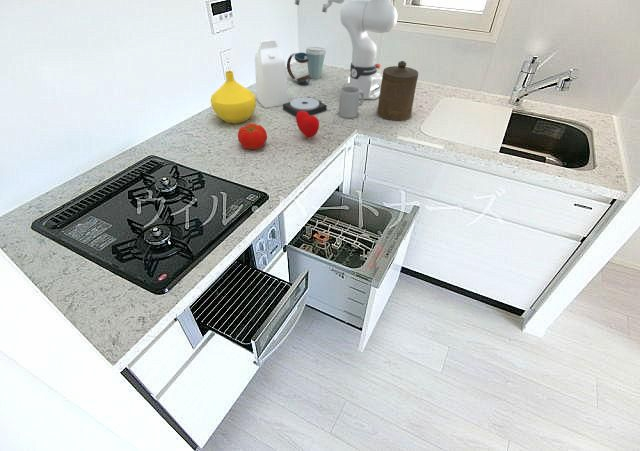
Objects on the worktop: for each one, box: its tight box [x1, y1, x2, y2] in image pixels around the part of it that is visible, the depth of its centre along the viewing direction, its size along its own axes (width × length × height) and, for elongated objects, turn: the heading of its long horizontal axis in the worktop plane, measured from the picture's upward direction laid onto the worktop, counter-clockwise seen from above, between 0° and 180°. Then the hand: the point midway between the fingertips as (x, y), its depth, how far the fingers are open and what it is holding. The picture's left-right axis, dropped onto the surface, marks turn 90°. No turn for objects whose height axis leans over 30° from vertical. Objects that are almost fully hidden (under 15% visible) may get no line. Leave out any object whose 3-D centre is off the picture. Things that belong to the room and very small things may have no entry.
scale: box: [282, 96, 328, 117], centre depth 152 cm, size 15×13×3 cm
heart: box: [295, 111, 320, 139], centre depth 130 cm, size 12×5×10 cm, turn 40°
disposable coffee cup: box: [305, 46, 327, 80], centre depth 181 cm, size 11×11×15 cm
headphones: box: [286, 52, 316, 85], centre depth 173 cm, size 6×15×22 cm
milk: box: [254, 39, 290, 109], centre depth 151 cm, size 12×12×26 cm
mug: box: [338, 85, 365, 119], centre depth 148 cm, size 12×8×11 cm
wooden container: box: [377, 60, 419, 121], centre depth 145 cm, size 15×15×22 cm
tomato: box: [237, 122, 268, 150], centre depth 125 cm, size 11×11×8 cm
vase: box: [210, 70, 257, 124], centre depth 139 cm, size 18×18×19 cm
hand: (310, 7), depth 113 cm, fingers open, 8 cm apart
